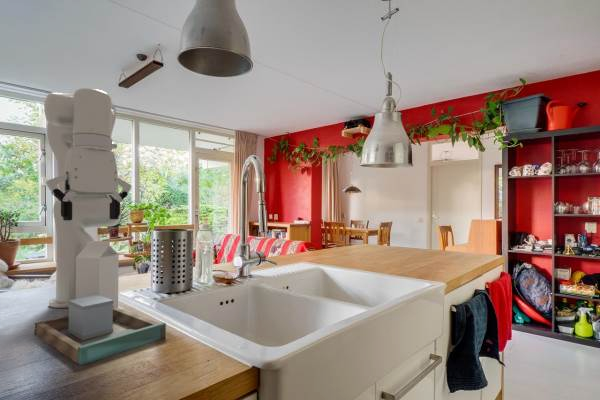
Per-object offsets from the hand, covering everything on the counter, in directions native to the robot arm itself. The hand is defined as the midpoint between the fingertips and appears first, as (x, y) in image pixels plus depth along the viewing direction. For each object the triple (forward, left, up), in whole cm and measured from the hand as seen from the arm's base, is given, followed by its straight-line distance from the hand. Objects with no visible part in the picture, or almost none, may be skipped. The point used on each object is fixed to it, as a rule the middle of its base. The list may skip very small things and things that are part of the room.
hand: (91, 219), depth 78 cm
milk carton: (-15, +8, -26) cm, 31 cm away
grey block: (0, 0, -25) cm, 25 cm away
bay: (+4, 0, -25) cm, 26 cm away
